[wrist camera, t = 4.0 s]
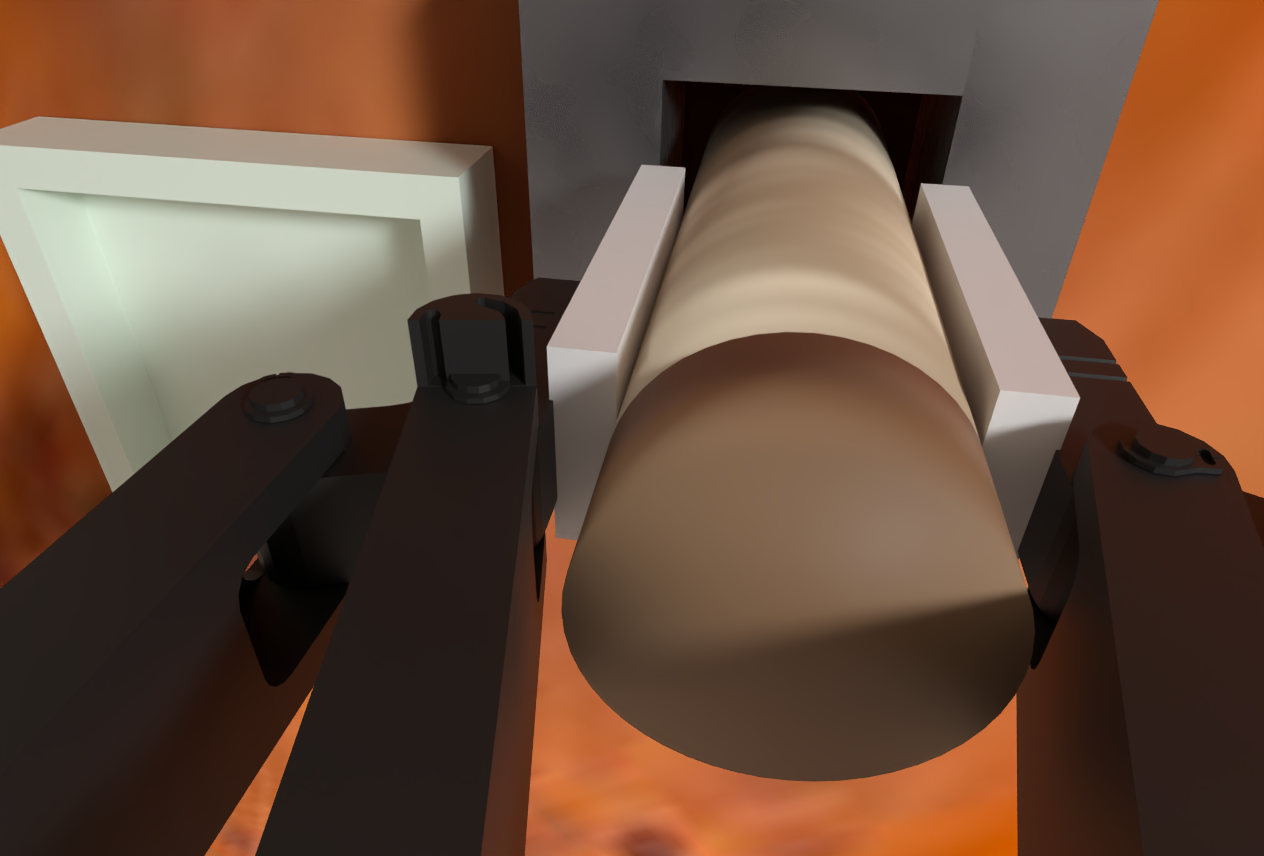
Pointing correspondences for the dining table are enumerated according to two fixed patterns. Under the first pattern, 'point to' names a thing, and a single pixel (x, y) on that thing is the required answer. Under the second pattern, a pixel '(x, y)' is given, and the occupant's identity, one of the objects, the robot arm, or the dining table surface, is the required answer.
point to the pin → (798, 477)
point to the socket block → (835, 59)
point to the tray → (233, 262)
